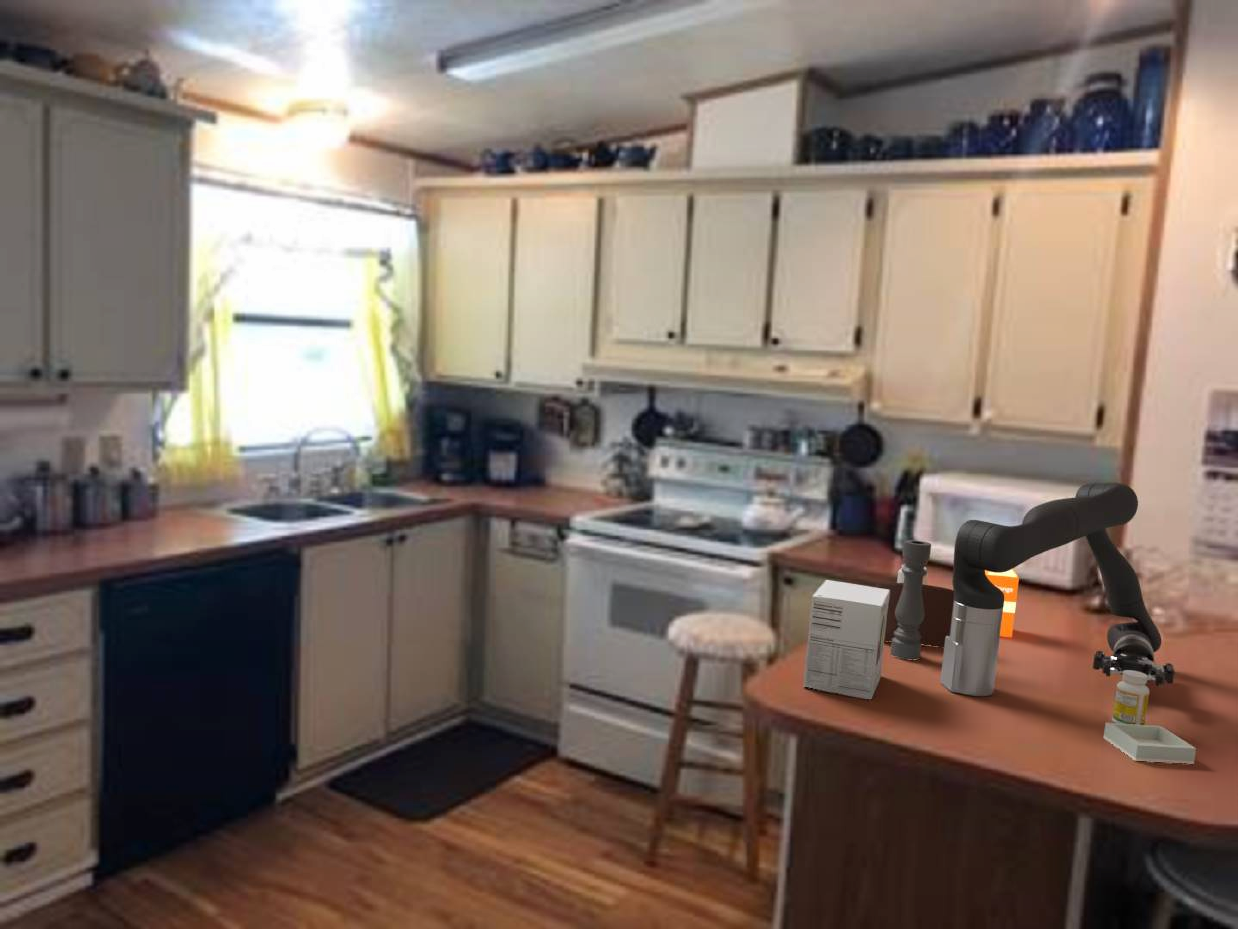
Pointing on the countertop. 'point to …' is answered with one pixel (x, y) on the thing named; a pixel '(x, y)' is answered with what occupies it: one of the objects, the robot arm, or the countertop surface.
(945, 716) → the countertop surface
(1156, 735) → the square tray
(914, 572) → the candle holder
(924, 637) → the letter holder
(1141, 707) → the supplement bottle
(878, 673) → the supplement box
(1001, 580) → the orange juice
